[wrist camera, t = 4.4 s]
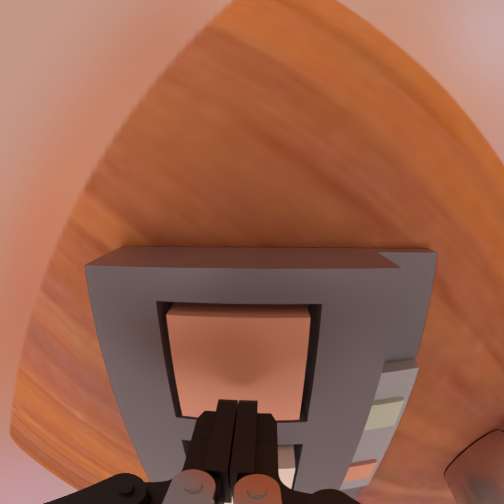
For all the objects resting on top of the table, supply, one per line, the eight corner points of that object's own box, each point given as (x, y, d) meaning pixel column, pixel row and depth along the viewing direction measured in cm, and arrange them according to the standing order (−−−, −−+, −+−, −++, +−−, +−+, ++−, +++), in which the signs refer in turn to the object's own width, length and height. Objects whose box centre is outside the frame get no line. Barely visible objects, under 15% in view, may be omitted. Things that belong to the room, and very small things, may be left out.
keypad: (429, 248, 15) (467, 266, 11) (348, 500, 21) (354, 527, 18) (121, 246, 16) (84, 265, 12) (183, 501, 22) (176, 528, 18)
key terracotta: (302, 295, 14) (310, 317, 12) (294, 390, 15) (299, 419, 13) (180, 293, 14) (166, 314, 12) (191, 387, 16) (182, 415, 13)
